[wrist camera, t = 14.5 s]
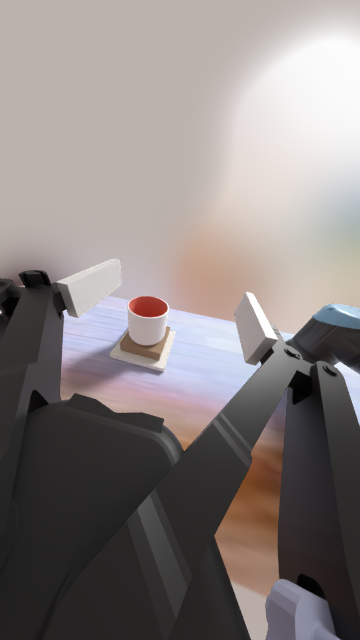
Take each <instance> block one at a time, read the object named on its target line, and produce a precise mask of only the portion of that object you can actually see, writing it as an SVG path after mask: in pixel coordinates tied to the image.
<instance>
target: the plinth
mask: <svg viewBox="0 0 360 640" xmlns="http://www.w3.org/2000/svg"><path fill="white" fill-rule="evenodd" d="M175 333H176V332H175V331H171V330H170V327H167V326H166V330H165V335H164V337H163V339H162V340H161V341H160V342H158V343H156V344H154V345H148V346H146V345H140V344H137V343H136V342H134V341H133V340H132V339H131V338H130V336H129V328H128V330H127V331H126V332H125V334H124V335H123V336H122V338H121V339H120V340H119V342H118V343H117V344H116V346H115V347H114V348H113V350H112V351H111V353H110V358H114V359H118V360H121V361H125V362H128V363H132V364H136V365H139V366H143V367H147V368H150V369H154V370H158V371H161V372H164V369H165V366H166V363H167V360H168V356H169V353H170V350H171V347H172V343H173V340H174V337H175Z"/></svg>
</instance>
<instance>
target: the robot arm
mask: <svg viewBox="0 0 360 640" xmlns="http://www.w3.org/2000/svg"><path fill="white" fill-rule="evenodd" d="M19 276H20V278H21V280H22V282H23V284H24V286H25V287H17V286H16V285H15V283H14V281H13V280H10V279H1V278H0V310H1V312H2V313H1V314H0V640H251V638H250V636H249V633H248V630H247V627H246V624H245V622H244V619H243V616H242V613H241V610H240V607H239V605H238V602H237V599H236V596H235V593H234V591H233V588H232V585H231V582H230V579H229V577H228V574H227V571H226V568H225V565H224V562H223V560H222V557H221V554H220V551H219V548H218V546H217V543H216V540H215V537H214V535H215V533H216V531H217V529H218V527H219V525H220V523H221V521H222V520H223V518H224V516H225V514H226V512H227V510H228V508H229V506H230V504H231V502H232V500H233V499H234V497H235V495H236V493H237V491H238V489H239V487H240V485H241V483H242V481H243V479H244V478H245V476H246V474H247V472H248V470H249V468H250V465H251V463H252V457H251V451H252V449H253V447H254V445H255V444H256V442H257V440H258V438H259V436H260V435H261V433H262V431H263V429H264V428H265V426H266V424H267V422H268V420H269V419H270V417H271V415H272V413H273V411H274V410H275V408H276V406H277V404H278V402H279V401H280V399H281V397H282V395H283V394H284V392H285V390H286V388H287V386H288V396H287V410H286V423H285V437H284V451H283V465H282V479H281V492H280V506H279V520H278V563H279V578H280V580H278V581H276V582H275V584H274V585H273V587H272V589H271V593H270V594H269V595H268V597H267V599H266V605H265V607H266V618H267V622H268V631H267V636H266V640H360V426H359V423H358V420H357V417H356V414H355V410H354V407H353V404H352V401H351V398H350V395H349V392H348V389H347V386H346V383H345V379H344V377H343V375H342V374H341V373H340V372H339V370H338V369H337V368H335V367H334V365H335V364H337V363H338V362H341V363H343V364H345V365H346V366H348V367H349V368H351V369H352V370H354V371H355V372H357V373H358V374H360V309H359V308H355V307H351V306H347V305H341V304H329V305H326V306H324V307H323V308H322V309H321V310H320V311H318V312H317V313H316V314H315V315H313V317H312V318H311V320H309V322H308V323H307V324H306V325H305V326H304V327H303V328H302V329H301V330H300V331H299V332H298V333H297V334H296V335H295V336H294V337H293V338H292V339H290V340H288V341H286V342H285V341H284V340H283V338H282V336H281V335H280V333H279V331H278V330H277V328H276V326H275V325H274V324H273V323H271V321H268V320H267V318H266V317H265V315H264V313H263V311H262V309H261V307H260V305H259V304H258V302H257V300H256V298H255V296H254V295H253V294H252V293H248V292H245V294H244V296H243V298H242V300H241V301H240V303H239V305H238V307H237V309H236V311H235V313H234V316H235V320H236V325H237V329H238V333H239V337H240V342H241V346H242V350H243V355H244V359H245V363H248V364H252V365H257V363H258V362H259V361H260V362H261V364H262V366H261V367H260V368H259V369H258V370H257V371H256V372H255V373H254V374H253V375H252V377H251V378H250V379H249V380H248V381H247V382H246V383H245V384H244V386H243V387H242V388H241V389H240V390H239V391H238V392H237V393H236V394H235V396H234V397H233V398H232V399H231V400H230V401H229V402H228V403H227V405H226V406H225V407H224V408H223V409H222V410H221V411H220V412H219V413H218V415H217V416H216V417H215V418H214V419H213V420H212V421H211V422H210V424H209V425H208V426H207V427H206V428H205V429H204V430H203V431H202V432H201V434H200V435H199V436H198V437H197V438H196V439H195V440H194V441H193V442H192V443H191V445H190V446H189V447H188V448H187V449H186V450H185V451H184V450H183V448H182V446H181V444H180V442H179V441H178V439H177V438H176V436H175V435H174V434H173V433H172V432H171V431H170V430H169V429H168V428H167V427H165V426H164V425H163V422H164V419H163V418H159V417H156V416H153V415H149V414H146V413H142V412H140V413H115V412H113V411H112V410H111V409H109V408H108V407H106V406H105V405H103V404H102V403H101V402H99V401H98V400H96V399H93V398H90V397H86V396H83V395H79V394H76V393H74V395H73V396H72V397H71V399H70V400H62V401H61V397H60V380H61V361H62V342H63V323H64V315H63V312H62V311H64V310H66V309H67V312H68V314H69V316H73V317H77V318H79V317H80V316H81V315H83V314H84V313H85V312H87V311H88V310H89V309H91V308H92V307H93V306H95V305H96V304H97V303H99V302H100V301H101V300H103V299H104V298H105V297H107V296H108V295H109V294H110V293H112V292H113V291H115V290H116V289H117V288H119V287H120V286H121V285H122V279H121V265H120V260H118V259H110V260H108V261H105V262H103V263H101V264H98V265H96V266H93V267H91V268H89V269H86V270H84V271H82V272H79V273H76V274H74V275H71V276H69V277H67V278H64V279H62V280H60V281H57V282H55V283H52V284H51V283H50V280H49V278H48V275H47V273H46V272H44V271H40V270H30V271H24V272H21V273H20V274H19Z"/></svg>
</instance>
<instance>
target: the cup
mask: <svg viewBox="0 0 360 640" xmlns="http://www.w3.org/2000/svg"><path fill="white" fill-rule="evenodd" d="M127 308H128V327H129V336H130V338H131V339H132V340H133V341H134V342H136V343H137V344H140V345H146V346H148V345H154V344H156V343H158V342H160V341H161V340H162V339H163V337H164V335H165V330H166V324H167V318H168V312H169V307H168V304H167V303H166V302H165V301H163V300H162V299H160V298H157V297H153V296H139V297H136V298H133V299H132V300H130V301H129V303H128V306H127Z"/></svg>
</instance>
